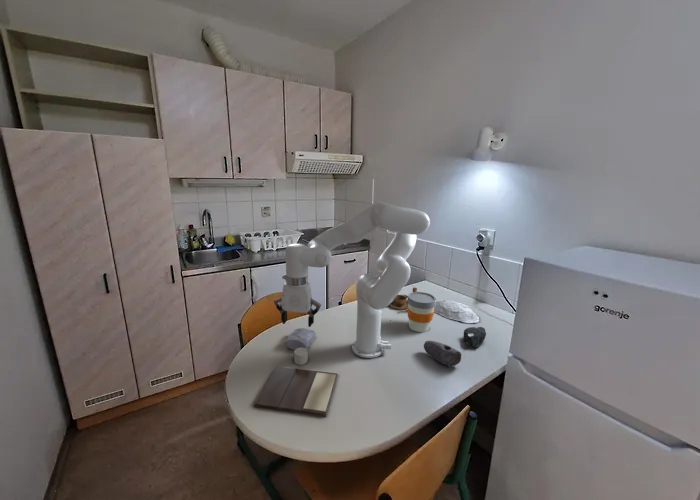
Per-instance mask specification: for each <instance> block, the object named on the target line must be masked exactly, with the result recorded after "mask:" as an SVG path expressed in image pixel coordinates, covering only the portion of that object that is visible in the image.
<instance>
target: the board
mask: <svg viewBox="0 0 700 500" xmlns="http://www.w3.org/2000/svg"><path fill="white" fill-rule="evenodd" d="M337 378H338V373H335V372H327V371H318V370H311V369H302V368H294V367H286V366H279V365H278V366H276V367H275V368H274V370H273V372H272V374H271V375H270V377H269V379H268V381H267V383H266V384H265V385H264V387H263V388H262V390H261V393H260V394H259V396H258V397H257V399H256V401H255V402H254V408H255V407H256V408H264V409H269V410H277V411H283V412H291V413H298V414H305V415H313V416H320V417H327V414H328V411H329V407H330V403H331V400H332V398H333V393H334V389H335V387H336V386H335V385H336V382H337Z"/></svg>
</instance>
